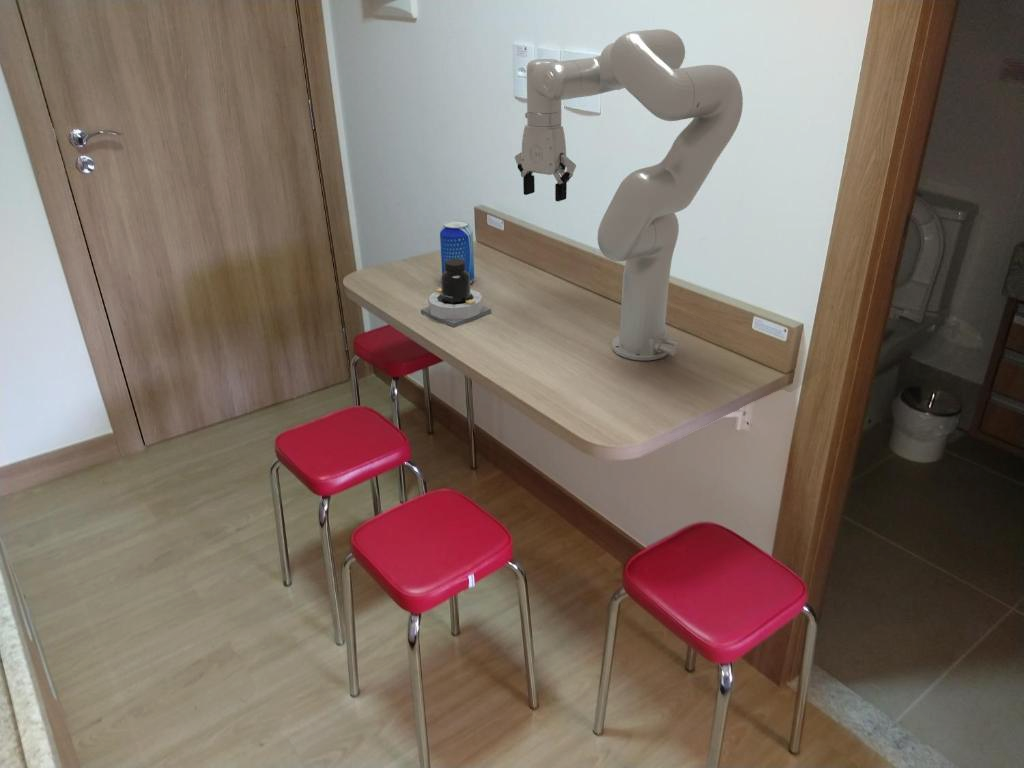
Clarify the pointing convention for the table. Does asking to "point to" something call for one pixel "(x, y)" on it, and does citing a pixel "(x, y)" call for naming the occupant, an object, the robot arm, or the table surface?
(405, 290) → the table surface
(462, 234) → the beer can
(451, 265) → the supplement bottle
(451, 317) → the socket
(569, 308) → the table surface
